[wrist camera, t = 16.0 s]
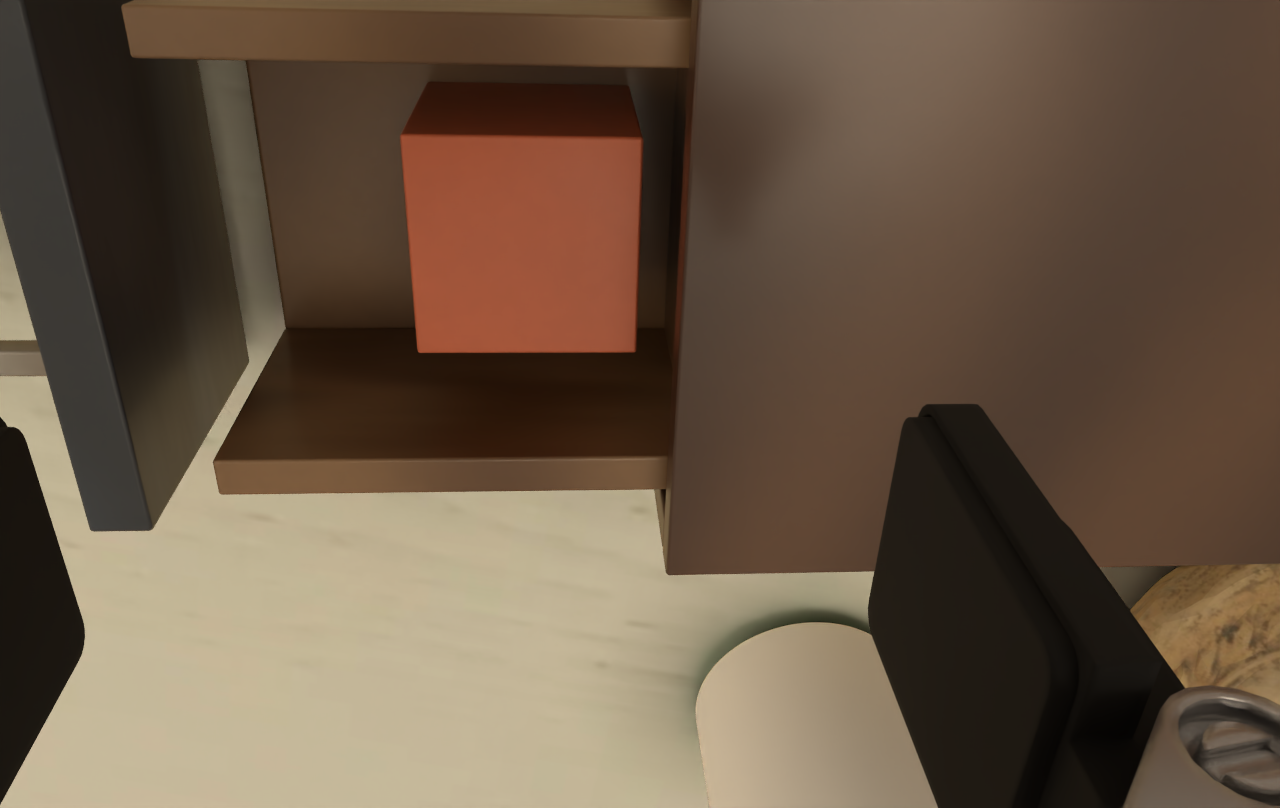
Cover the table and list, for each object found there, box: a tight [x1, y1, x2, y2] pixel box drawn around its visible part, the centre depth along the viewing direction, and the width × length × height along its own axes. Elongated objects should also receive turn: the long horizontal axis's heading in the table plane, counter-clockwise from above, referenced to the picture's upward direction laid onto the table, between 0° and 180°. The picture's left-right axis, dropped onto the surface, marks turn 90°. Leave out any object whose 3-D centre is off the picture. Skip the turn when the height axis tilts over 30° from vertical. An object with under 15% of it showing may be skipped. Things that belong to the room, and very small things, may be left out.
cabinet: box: [654, 0, 1280, 575], centre depth 22 cm, size 14×12×9 cm
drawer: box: [0, 0, 692, 531], centre depth 21 cm, size 17×10×7 cm, turn 88°
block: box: [400, 82, 644, 353], centre depth 22 cm, size 4×4×4 cm
